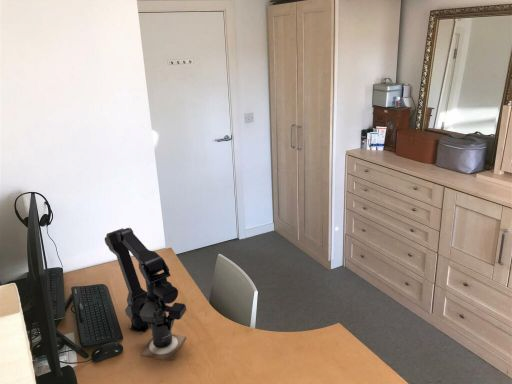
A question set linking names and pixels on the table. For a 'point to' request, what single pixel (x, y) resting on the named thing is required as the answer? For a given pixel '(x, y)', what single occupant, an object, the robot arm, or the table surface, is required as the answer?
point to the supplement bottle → (161, 332)
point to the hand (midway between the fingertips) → (161, 328)
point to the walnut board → (164, 349)
